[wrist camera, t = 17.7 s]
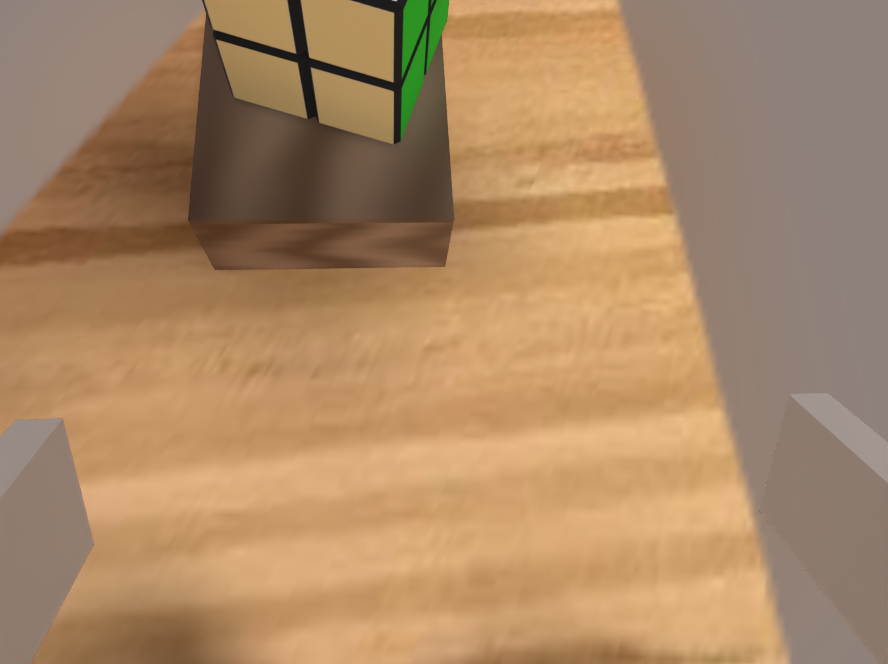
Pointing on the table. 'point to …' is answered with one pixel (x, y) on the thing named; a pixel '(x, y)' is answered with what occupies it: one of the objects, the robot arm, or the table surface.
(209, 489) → the table surface
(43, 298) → the table surface
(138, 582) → the table surface
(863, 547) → the robot arm
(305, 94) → the puzzle cube
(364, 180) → the walnut stand
